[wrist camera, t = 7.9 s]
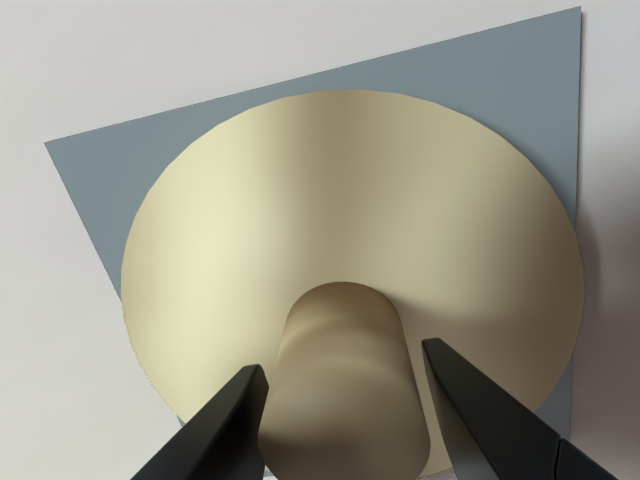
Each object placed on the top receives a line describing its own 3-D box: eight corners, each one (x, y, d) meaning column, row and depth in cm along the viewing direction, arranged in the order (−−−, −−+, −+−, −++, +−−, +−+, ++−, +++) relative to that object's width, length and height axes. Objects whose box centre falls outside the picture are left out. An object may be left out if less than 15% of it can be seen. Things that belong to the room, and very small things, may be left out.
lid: (564, 27, 8) (810, -48, 4) (561, 437, 12) (674, 614, 8) (65, 154, 10) (-146, 199, 5) (217, 474, 14) (164, 635, 10)
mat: (572, 9, 8) (581, 5, 8) (564, 436, 13) (569, 444, 12) (52, 141, 10) (43, 142, 9) (211, 474, 14) (209, 482, 14)
